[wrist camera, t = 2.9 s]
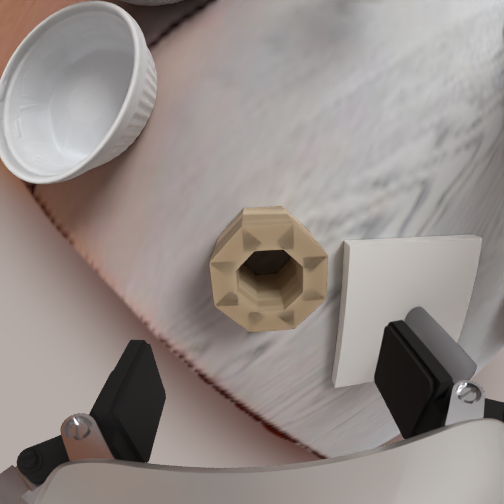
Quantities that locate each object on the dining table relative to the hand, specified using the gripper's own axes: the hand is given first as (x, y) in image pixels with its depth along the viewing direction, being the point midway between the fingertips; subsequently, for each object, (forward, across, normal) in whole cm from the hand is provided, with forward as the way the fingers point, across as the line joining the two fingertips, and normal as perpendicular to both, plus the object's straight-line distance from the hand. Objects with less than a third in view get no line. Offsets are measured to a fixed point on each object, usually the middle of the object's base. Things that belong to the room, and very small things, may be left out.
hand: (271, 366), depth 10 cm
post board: (+13, -15, +6) cm, 21 cm away
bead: (+13, -1, 0) cm, 13 cm away
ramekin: (+14, +12, -14) cm, 23 cm away
